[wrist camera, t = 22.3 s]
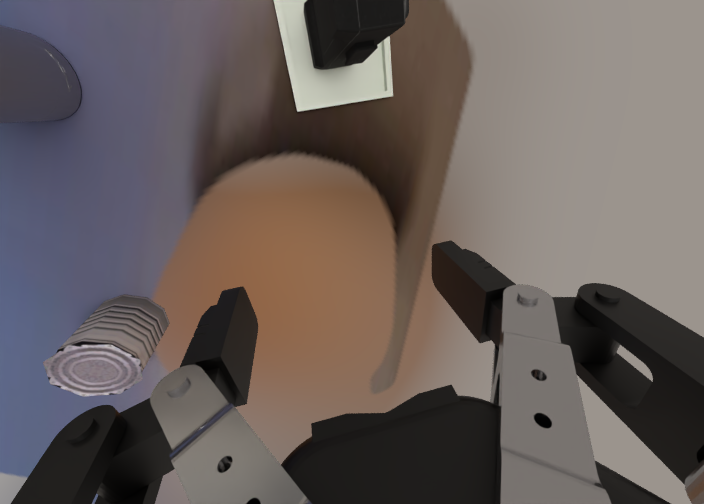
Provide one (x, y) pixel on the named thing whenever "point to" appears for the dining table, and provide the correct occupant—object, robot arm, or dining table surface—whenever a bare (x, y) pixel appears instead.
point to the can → (109, 347)
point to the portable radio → (350, 29)
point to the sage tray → (329, 84)
